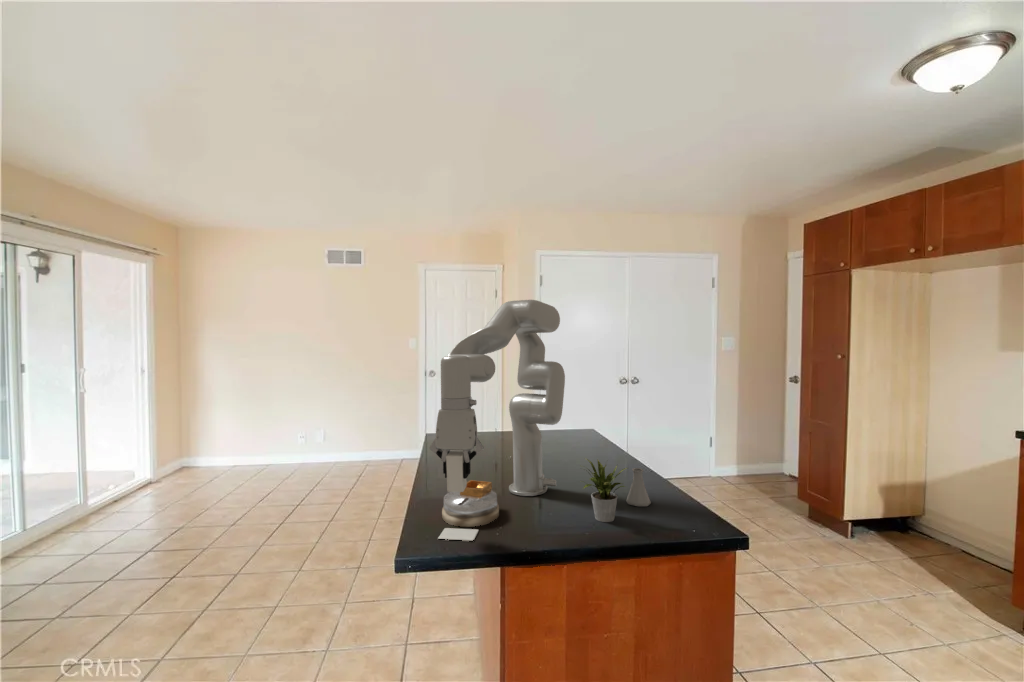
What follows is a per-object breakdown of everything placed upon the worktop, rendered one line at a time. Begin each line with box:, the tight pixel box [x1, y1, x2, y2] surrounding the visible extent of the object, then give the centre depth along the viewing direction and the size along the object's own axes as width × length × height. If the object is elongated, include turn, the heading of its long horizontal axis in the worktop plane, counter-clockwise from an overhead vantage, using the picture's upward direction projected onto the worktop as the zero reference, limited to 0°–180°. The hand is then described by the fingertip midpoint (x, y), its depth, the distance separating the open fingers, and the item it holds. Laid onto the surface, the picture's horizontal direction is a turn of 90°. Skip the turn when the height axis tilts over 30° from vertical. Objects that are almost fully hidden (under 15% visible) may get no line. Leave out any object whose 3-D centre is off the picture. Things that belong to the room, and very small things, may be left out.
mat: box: [437, 527, 479, 542], centre depth 111 cm, size 9×6×1 cm, turn 82°
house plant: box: [581, 458, 628, 523], centre depth 120 cm, size 14×14×16 cm
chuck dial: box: [443, 479, 498, 518], centre depth 123 cm, size 15×15×5 cm
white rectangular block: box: [446, 450, 468, 493], centre depth 110 cm, size 4×4×9 cm
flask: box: [625, 467, 652, 507], centre depth 130 cm, size 7×7×10 cm
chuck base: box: [441, 503, 500, 528], centre depth 123 cm, size 16×16×2 cm
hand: (456, 476), depth 110 cm, fingers closed on white rectangular block, 4 cm apart
